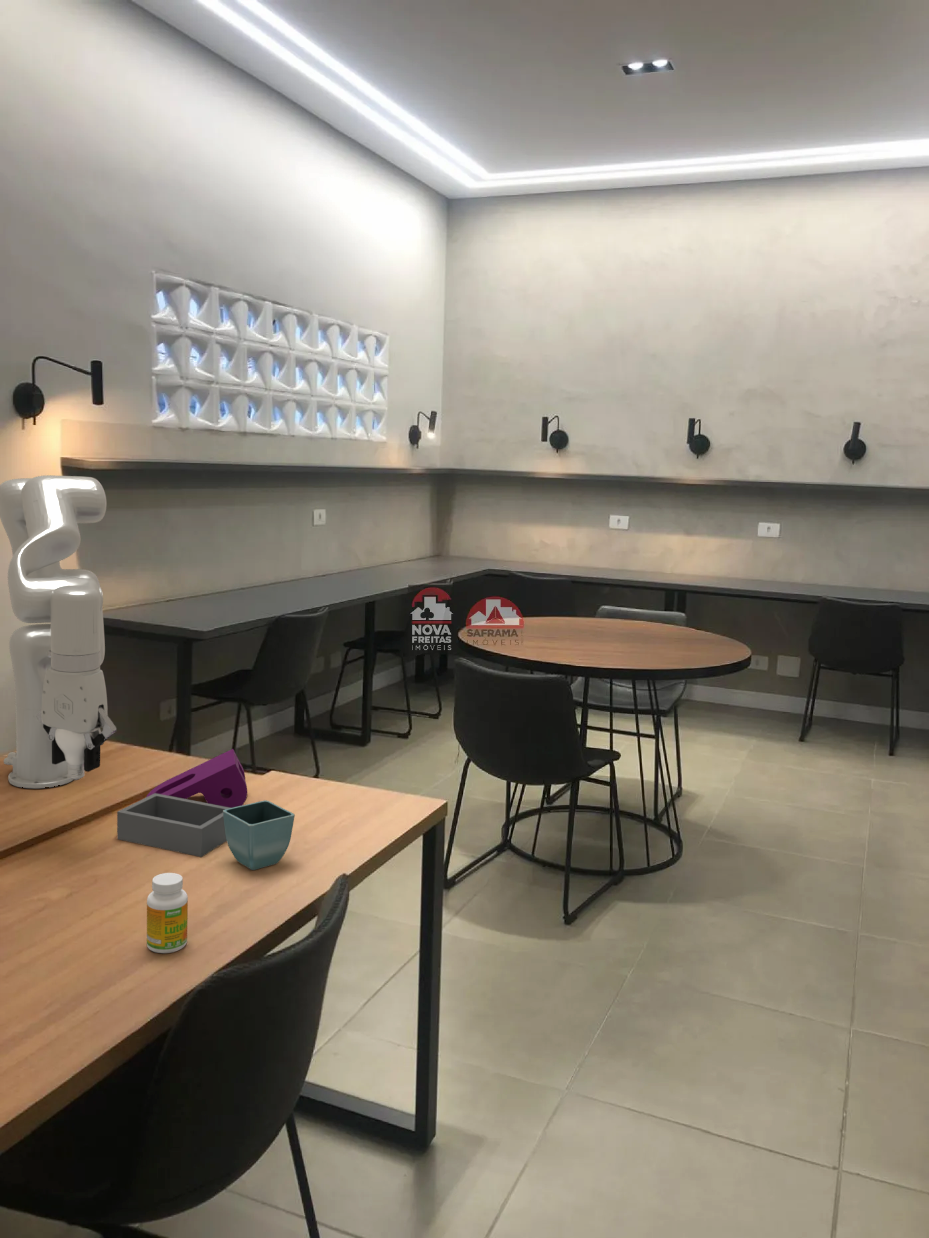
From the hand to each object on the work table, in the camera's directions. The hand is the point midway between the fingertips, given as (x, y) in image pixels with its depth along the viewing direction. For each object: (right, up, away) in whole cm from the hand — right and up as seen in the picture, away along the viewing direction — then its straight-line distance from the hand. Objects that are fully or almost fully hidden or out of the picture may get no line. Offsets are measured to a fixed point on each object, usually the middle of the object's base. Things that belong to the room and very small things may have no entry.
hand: (76, 764), depth 163 cm
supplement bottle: (+24, -21, -28) cm, 42 cm away
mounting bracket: (+13, -12, +25) cm, 30 cm away
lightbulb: (0, -3, +1) cm, 3 cm away
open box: (+14, -14, +8) cm, 22 cm away
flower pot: (+30, -17, 0) cm, 35 cm away
